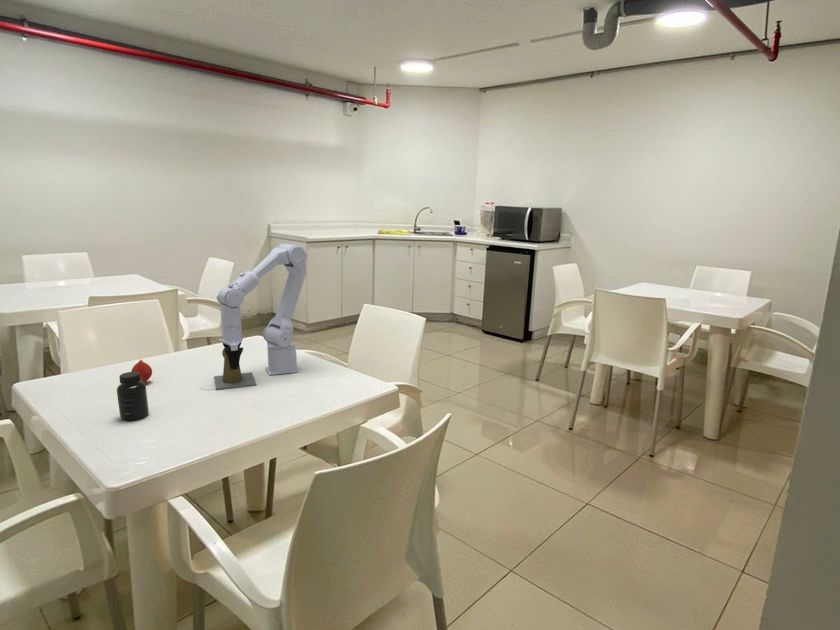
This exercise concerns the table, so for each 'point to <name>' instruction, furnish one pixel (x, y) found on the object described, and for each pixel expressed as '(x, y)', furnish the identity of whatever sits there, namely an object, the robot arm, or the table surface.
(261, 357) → the table surface
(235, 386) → the placemat
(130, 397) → the supplement bottle
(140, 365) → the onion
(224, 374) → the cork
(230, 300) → the robot arm
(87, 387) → the table surface
